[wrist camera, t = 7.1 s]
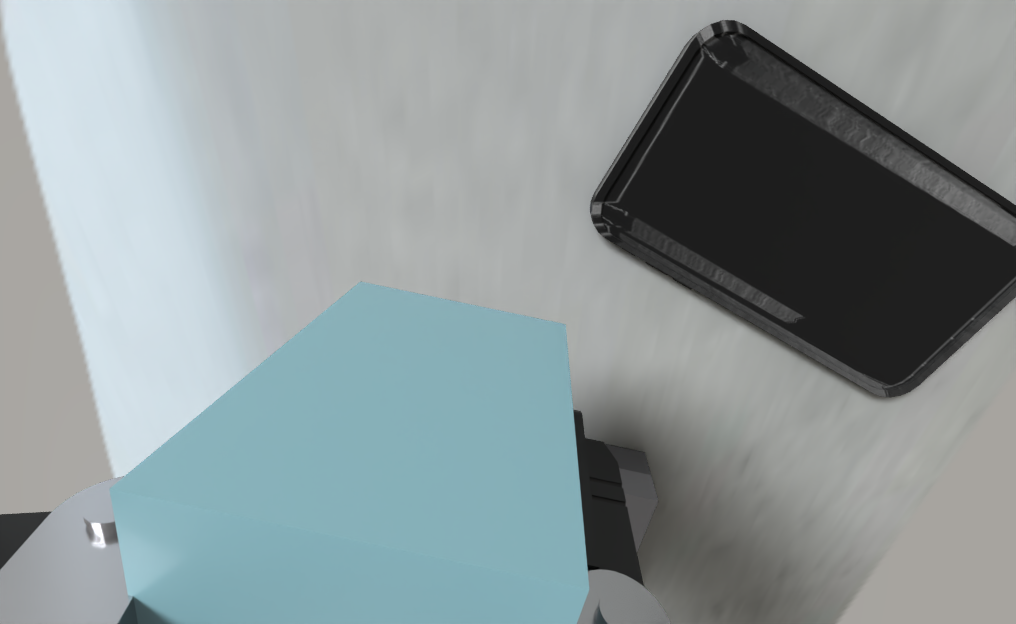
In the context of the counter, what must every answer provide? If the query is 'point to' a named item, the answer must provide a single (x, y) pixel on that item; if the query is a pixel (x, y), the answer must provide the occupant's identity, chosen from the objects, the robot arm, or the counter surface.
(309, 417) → the block
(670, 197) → the phone
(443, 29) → the counter surface
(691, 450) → the counter surface
